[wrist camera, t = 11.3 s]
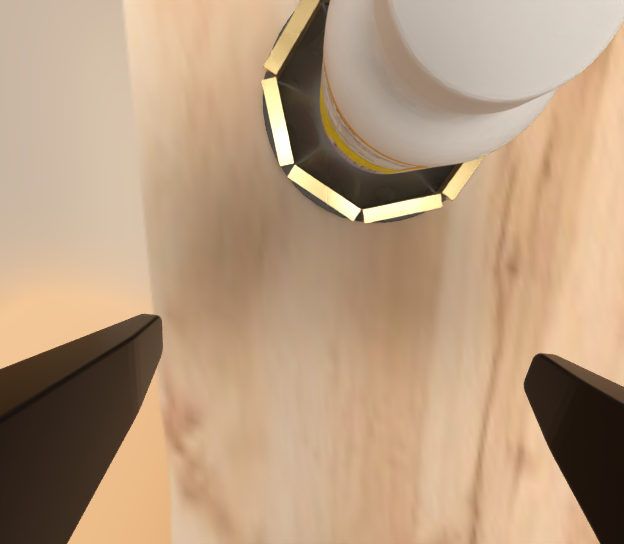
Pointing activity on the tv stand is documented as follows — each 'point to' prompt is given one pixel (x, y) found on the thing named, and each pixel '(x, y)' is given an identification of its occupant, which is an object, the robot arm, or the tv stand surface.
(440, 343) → the tv stand surface
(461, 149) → the supplement bottle
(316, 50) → the carrier plate
